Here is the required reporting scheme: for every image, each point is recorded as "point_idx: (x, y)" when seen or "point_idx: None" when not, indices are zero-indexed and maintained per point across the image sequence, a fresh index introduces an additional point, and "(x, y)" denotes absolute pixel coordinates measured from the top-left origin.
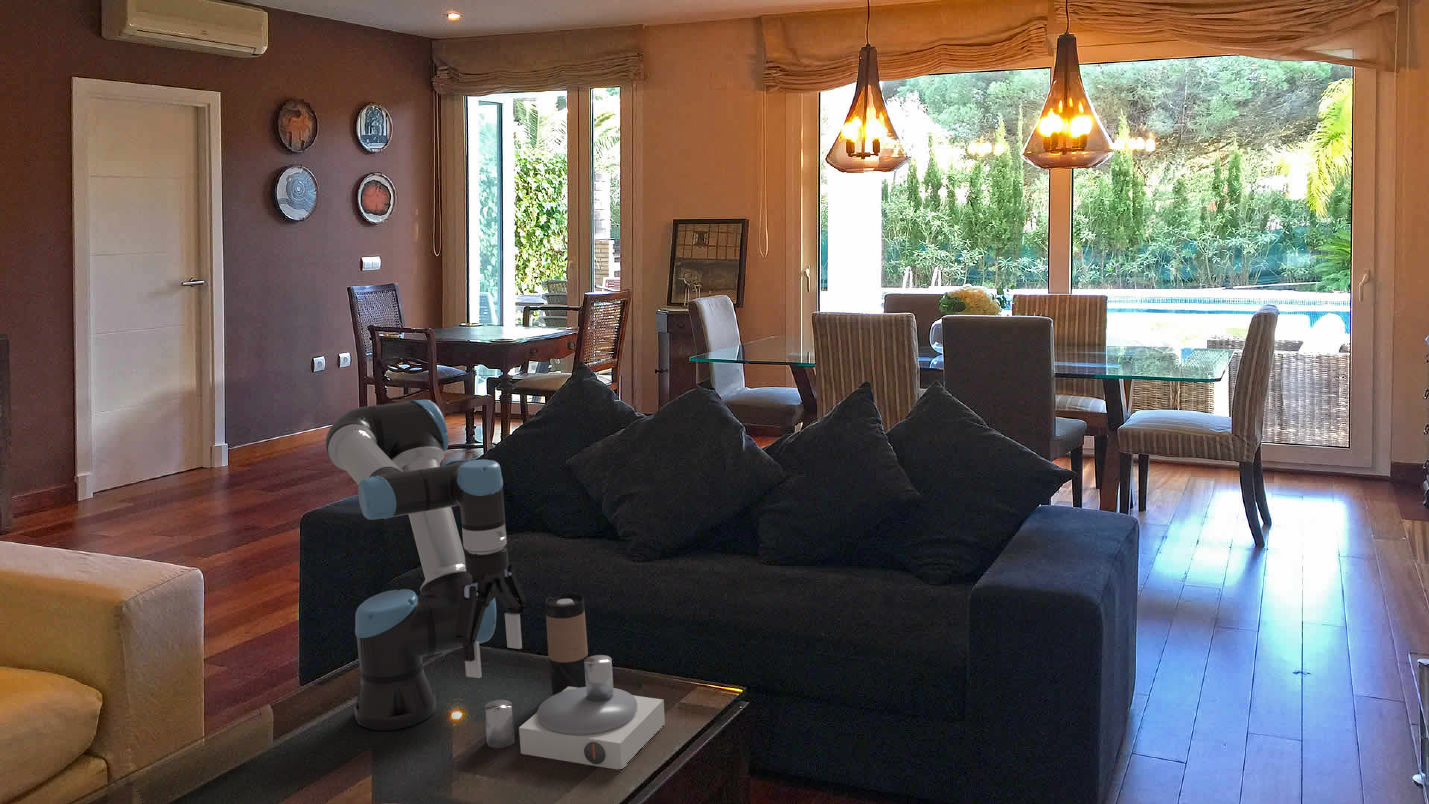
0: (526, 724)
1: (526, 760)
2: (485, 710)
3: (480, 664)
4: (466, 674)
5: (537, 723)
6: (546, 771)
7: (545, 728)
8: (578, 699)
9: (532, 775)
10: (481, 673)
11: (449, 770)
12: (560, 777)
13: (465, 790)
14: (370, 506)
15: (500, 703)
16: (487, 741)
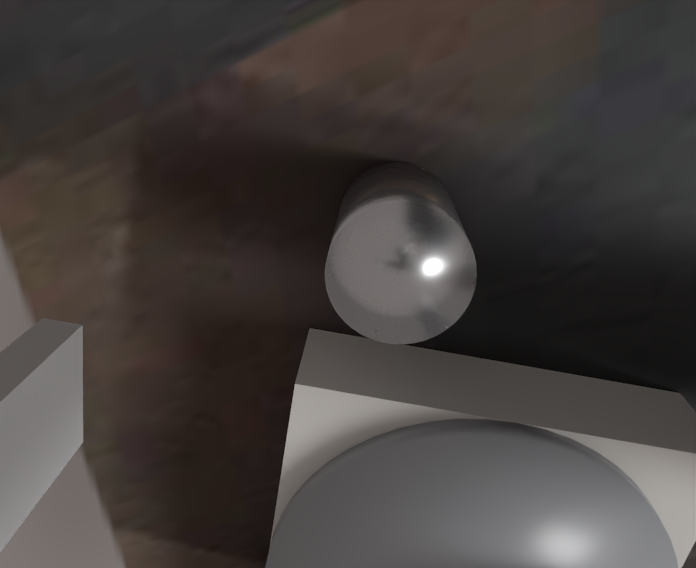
0: (327, 404)
1: (266, 360)
2: (344, 225)
3: (12, 525)
4: (33, 330)
5: (343, 442)
6: (209, 441)
7: (305, 481)
8: (541, 560)
9: (173, 409)
10: (67, 460)
11: (124, 101)
12: (184, 487)
13: (12, 230)
14: None
15: (430, 278)
16: (358, 179)
